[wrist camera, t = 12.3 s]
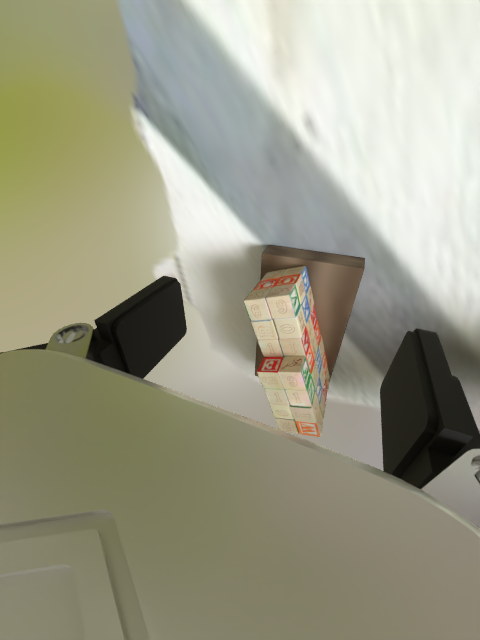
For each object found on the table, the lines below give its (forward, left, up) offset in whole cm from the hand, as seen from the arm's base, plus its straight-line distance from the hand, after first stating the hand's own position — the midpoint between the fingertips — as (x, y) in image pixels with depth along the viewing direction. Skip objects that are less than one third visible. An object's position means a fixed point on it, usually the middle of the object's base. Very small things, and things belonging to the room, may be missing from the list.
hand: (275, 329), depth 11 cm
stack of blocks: (+2, +19, -26) cm, 32 cm away
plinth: (+2, +20, -30) cm, 36 cm away
